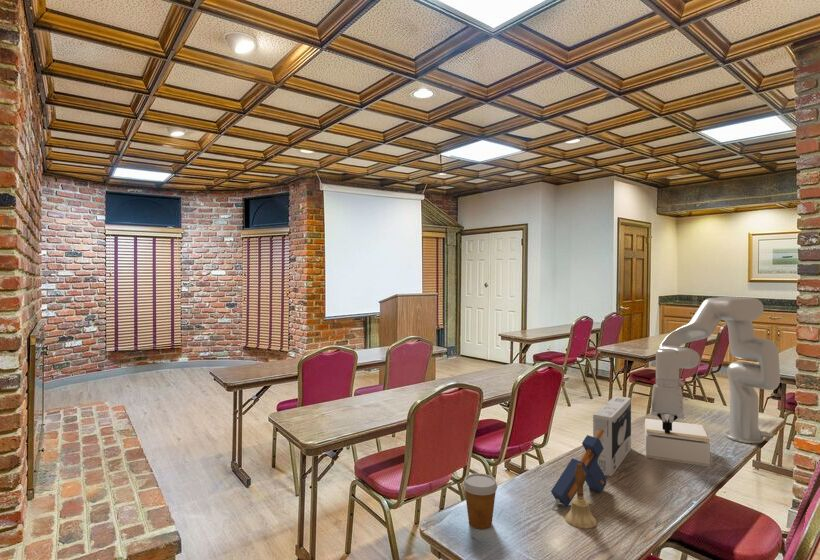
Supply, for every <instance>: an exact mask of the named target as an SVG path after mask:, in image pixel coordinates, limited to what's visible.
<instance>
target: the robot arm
mask: <svg viewBox="0 0 820 560" xmlns="http://www.w3.org/2000/svg"><path fill="white" fill-rule="evenodd" d="M763 314H764V305H763V302H762V301H760V300H759V299H758V298H755V297H742V296H741V297H740V296H738V297H737V296H718V297H708V298H706V299H704V300H703V301H702V303H701V304H700V306H698V308H697V309H696V311H695V313H694V314H693V315H692V317H691V318H690V320H689V322H688V323H687V324H684V325H681V326H680V327H678V328H677V329H674V330H673V331H671V332H670V333H668V334H666V336H665V337H664V339H663V340H662V342H661V343H660V345H659V347H658V348H657V349H656V351H655V383H654V384H653V385H652V391H651V410H650V414H651V416H655V417H658V418H659V420H662V421H663V430H665V433H667V432H668V433H669V434H670V431H672V423H673V422H676V421H677V420H678V419H679V420H680V419H684V418H685V416H684V415H685V414H684V399H683V398H684V396H683V390H682V387H681V385H684V384H685V382H684V380H681V379H680V369H686V370H689V369H690V370H691V369H694V368H696V367H697V366H698V365H699V364H700V362H701V356H700V354H699V352H697V351H696V350H694V349H693V348H689V347H684V346H683V347H682V345H684V344H687V343H690V342H696V341H701V340H704V339H708V338H709V337H711V336H712V334H713V332H714V331H715V329H716V328H717V326H718V325H719V323H720V322H721V321H724V322H725V324H726V325H727V329H728V331H727V332H728V342H729V343H728V344H729V351H730V354H731V356H732V357H733V358H736V359H740V360H739V361H738V360H736V361H733V362H731V363H730V364H728V366H727V369H726V374H727V379H728V384H729V386H728V387H729V430H727V431H725V434H724V435H725V437H726V438H727V439H730V440H731V441H732V440H733V441H736V442H739V443H745V444H751V443H752V444H751V445H753V444H762V443H763V442H764V438H767V439H773V438H774V433H772V432H768V431H765V430H764V431H762V430H760V427H759V407H760V406H759V402H760V401H759V395H758V393H757V390H756V389H761V390H766V391H774V390H776V389H778V387H779V386H780V382H781V369H780V356H779V354H780V353H779V348H778V346H777V344H776V343H775V342H774V341H773V340H771V339H769V338H765V337H756V335H755V331H754V330H755V329H754V324H753V322H752V321H756V320H758V319H759V318H761V316H763ZM741 360H745V361H741ZM748 361H749V362H748ZM751 361H752V362H751ZM754 362H757V363H754ZM755 388H756V389H755ZM666 415H668V418H666Z"/></svg>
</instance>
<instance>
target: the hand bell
mask: <svg viewBox="0 0 820 560" xmlns="http://www.w3.org/2000/svg"><path fill="white" fill-rule="evenodd" d="M575 480H576V483H577V492H576V497H575V498H574V497H573V499H572V500H571V501H572V502H571V507H570V510H569V511H568V512H567V513H566V514H565V516H564V519H565V521H566V523H568V525H570V526H572V527H574V528H579V529H592V528H594V527H597V525H598V523H597V519H596V518H595V517H594V515H593V513H592V512H591V507H590V502H589V501H588V500H587V499H586V498H585V497H584V485H585V483H584V480H585V473H584V469H583V467H582V464H581V463H577V466H576V469H575ZM583 484H584V485H583Z"/></svg>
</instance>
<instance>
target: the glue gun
mask: <svg viewBox="0 0 820 560" xmlns="http://www.w3.org/2000/svg"><path fill="white" fill-rule="evenodd" d="M603 433H604V431H603V430H602V429H600V430H599V432H598V433H597V435H596V436H595V437H593V435H589V434H587V435H586V436H585V438H584V440H583V441H582V443H581V444H582V446H583V448H584V450H585V452H584V454H583V455H582V457H581V459H580V460H579V459H575V458H571V460H570V461H569V462H568V464H567V465H566V467H565V469H564V470H563V472H562V473H561V475H560V477H559V478H558V480H556V482H555V484H554V485H553V488H552V489H551V490H550V492H551V495H552V496H553V498H554V499H555V501H554V504H553V507H552V509H551V511H554V510H555V508H556V507H557V506H558V505H559V504H561V505H564V506H566V507H568V506H569V505H570V503H572V502H571V501H572V500H573V499H574V497H575V495H577V483H576V480H575V469H576V466H577V463H581V464H582V467H583V469H584V473H585V480H584V484H583V486H584V485H585V483H586V484H587V487H588V488H589V489H591V490H592V491H593V490H594V491H596V492H597V493H600V494H601V493H602V492H603V491H604V489H605V487H606V486H607V480H608V479H607V478H608V477H606V476H607V475H604V473H603V472H602V470H601V469H600V467H599V465H598V458H599V456H600V454H601V452H602V451H603V449H604V448H603V446H602V444H601V442H600V440H599V439H600V438H601V436H602V434H603Z"/></svg>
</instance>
